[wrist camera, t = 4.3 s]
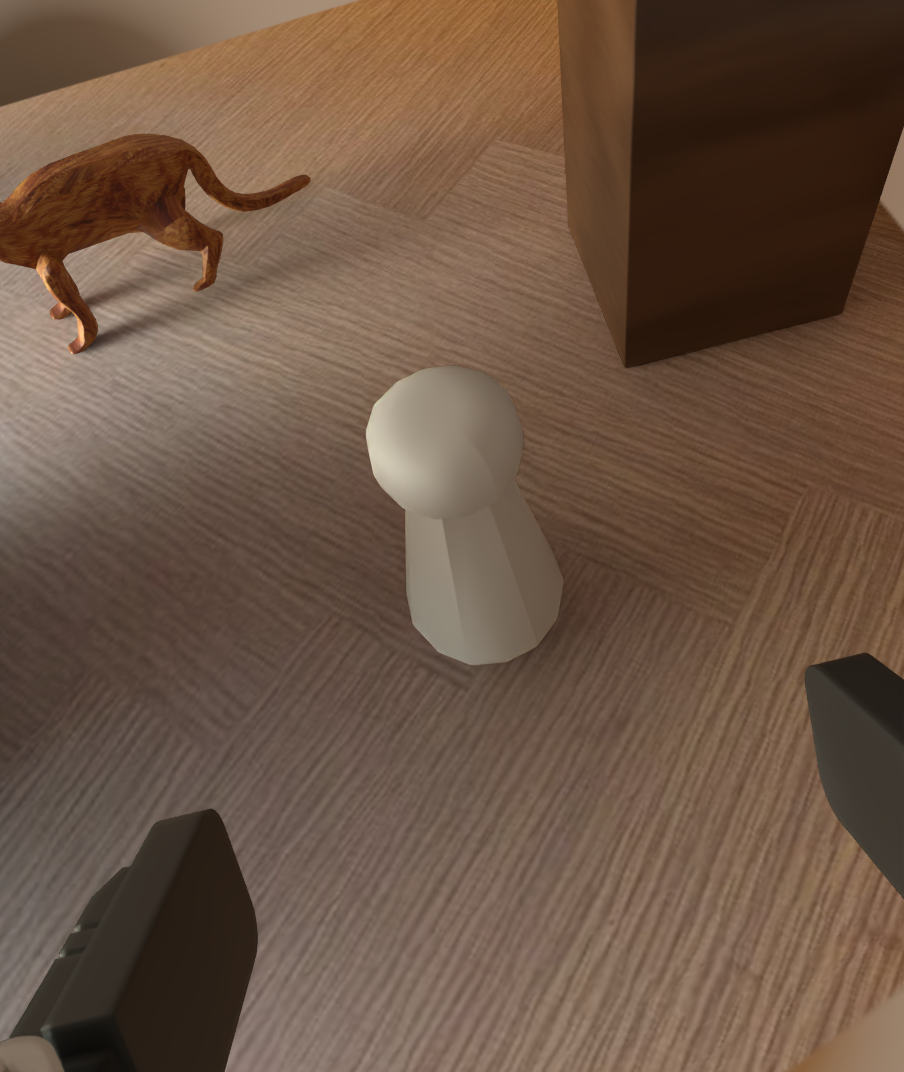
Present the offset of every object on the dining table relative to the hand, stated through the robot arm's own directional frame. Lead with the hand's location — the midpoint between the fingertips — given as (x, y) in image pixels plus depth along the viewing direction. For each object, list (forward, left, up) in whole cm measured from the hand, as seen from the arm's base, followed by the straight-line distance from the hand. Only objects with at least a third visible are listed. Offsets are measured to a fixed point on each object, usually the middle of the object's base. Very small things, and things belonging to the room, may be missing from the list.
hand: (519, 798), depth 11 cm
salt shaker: (+6, -10, -19) cm, 22 cm away
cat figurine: (+29, -25, -19) cm, 43 cm away
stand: (+2, -30, -19) cm, 36 cm away
